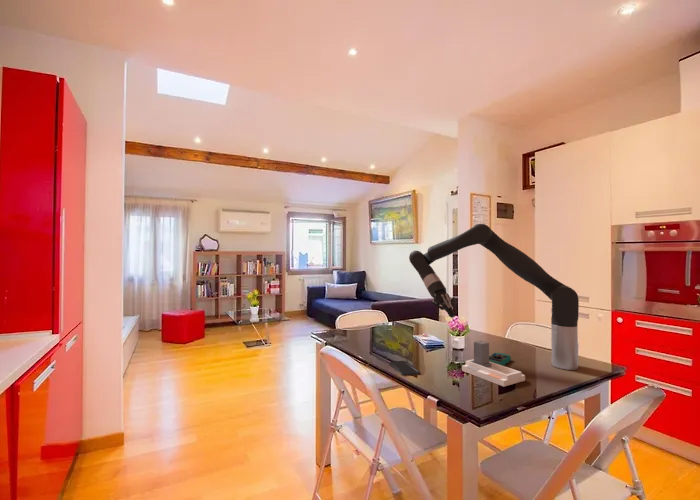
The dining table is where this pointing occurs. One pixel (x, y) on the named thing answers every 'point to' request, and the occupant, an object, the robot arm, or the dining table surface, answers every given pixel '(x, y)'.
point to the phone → (404, 368)
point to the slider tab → (481, 353)
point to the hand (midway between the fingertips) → (453, 316)
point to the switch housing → (494, 373)
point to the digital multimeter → (500, 358)
